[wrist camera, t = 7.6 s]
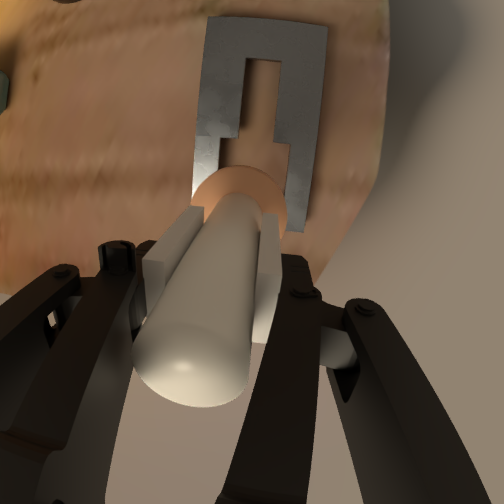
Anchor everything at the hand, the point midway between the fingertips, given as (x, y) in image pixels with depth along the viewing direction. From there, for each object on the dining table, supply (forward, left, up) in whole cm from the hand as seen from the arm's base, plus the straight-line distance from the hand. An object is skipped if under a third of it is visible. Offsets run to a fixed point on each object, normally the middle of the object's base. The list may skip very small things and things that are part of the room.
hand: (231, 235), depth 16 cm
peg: (0, 0, -5) cm, 5 cm away
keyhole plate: (-6, 0, -22) cm, 23 cm away
